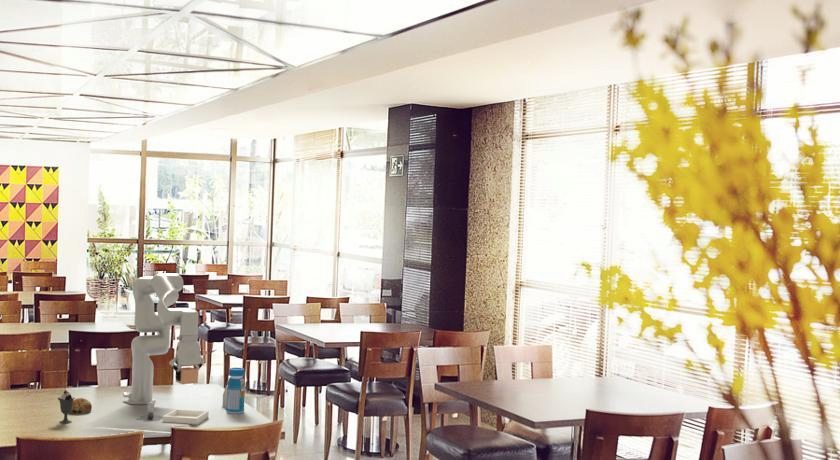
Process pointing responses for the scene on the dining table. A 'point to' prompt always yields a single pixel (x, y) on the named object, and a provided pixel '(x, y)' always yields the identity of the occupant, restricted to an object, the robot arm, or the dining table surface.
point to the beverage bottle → (235, 391)
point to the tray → (186, 416)
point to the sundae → (66, 405)
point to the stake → (150, 414)
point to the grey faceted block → (225, 397)
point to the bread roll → (80, 406)
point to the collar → (188, 375)
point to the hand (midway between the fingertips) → (186, 379)
